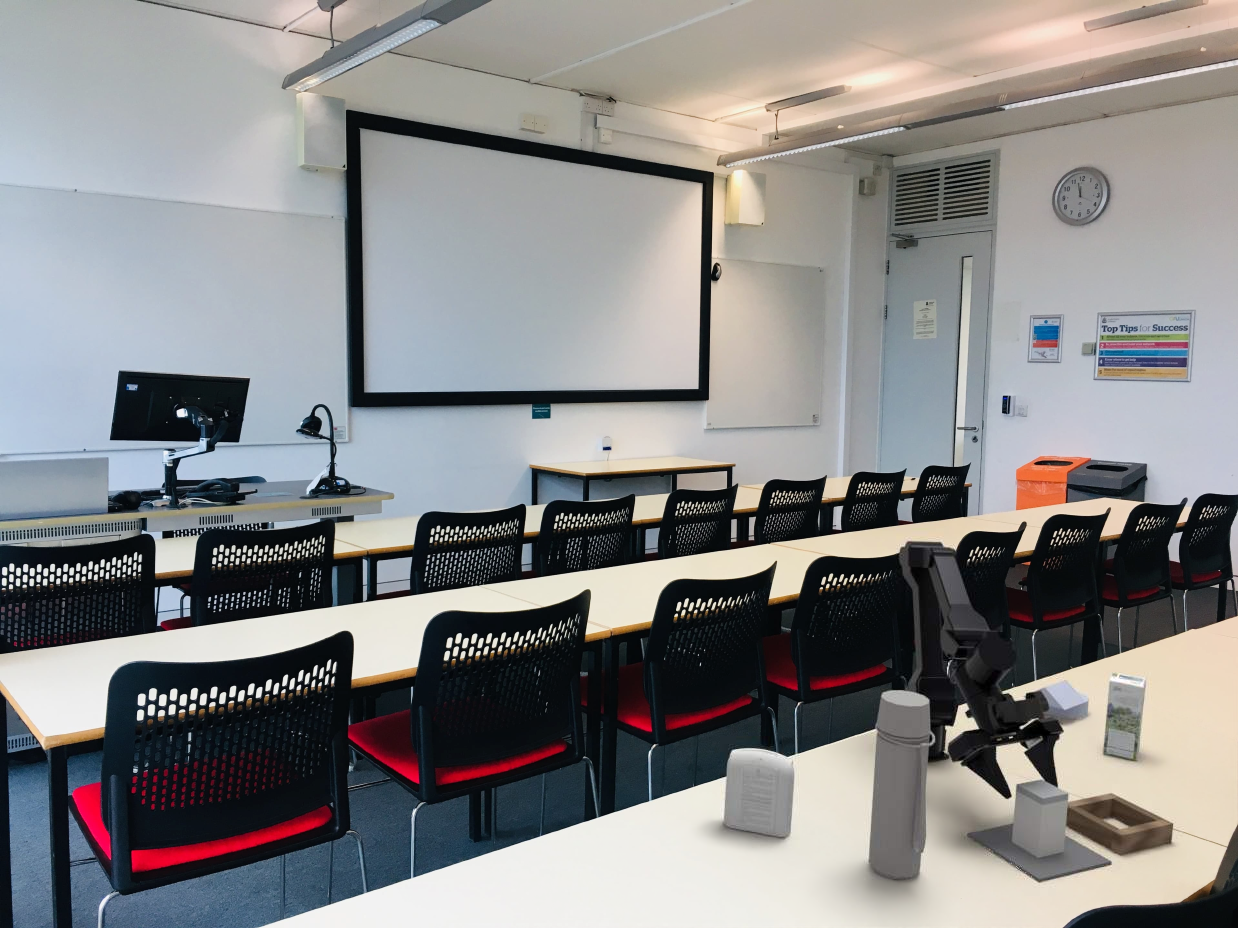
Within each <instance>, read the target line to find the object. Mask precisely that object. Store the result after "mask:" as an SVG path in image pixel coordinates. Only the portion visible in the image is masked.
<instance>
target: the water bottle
mask: <svg viewBox="0 0 1238 928" xmlns="http://www.w3.org/2000/svg"><path fill="white" fill-rule="evenodd" d="M876 719H877V720H876V723H875V730H876V732H877V733H876V738H875V739H876V741H875V755H874V767H873V768H874V770H873V772H874V773H873V785H872V786H873V787H872V788H873V789H872V801H871V816H870V817H871V820H870V821H871V822H870V835H869V851H868V863H869V864H870V866H871V867H872V869H873V870H874V872H875V873H878V874H879V875H881V876H882V877H884V878H885V877H886V878H889V879H894V880H908V879H911V878H913V877H915V876H917V875H918V874H919V873H920V870H921V864H922V862H921V861H922V854H923V853H924V852H925V847H926V840H927V807H926V806H927V799H926V798H927V794H926V793H927V792H926V791H927V789H926V787H927V778H928V764H929V762H928V750H929V746H932V745H933V743H934V742H935V735H934V734H933V733H932V732H931V731H930V704H929V699H928V698H926V697H925V696H924V695H921V694H918V693H915V692H909V691H908V690H903V689H902V690H901V689H900V690H894V689H892V690H887V691H883V692H882V693H881V696H880V702H879V709H878V714H877V718H876ZM930 734H931V736H932V738H933V739H932V742H931V743H929V736H930Z"/></svg>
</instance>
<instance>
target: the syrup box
mask: <svg viewBox="0 0 1238 928" xmlns="http://www.w3.org/2000/svg"><path fill="white" fill-rule="evenodd" d="M1146 684H1147V679H1146V678H1144V677H1139V676H1133V675H1128V674H1122V673H1118V672H1117V673H1116V672H1112V674H1111V676H1110V678H1109V684H1108V695H1107V705H1106V713H1105V714H1106V718H1105V728H1104V739H1103V747H1102V748H1103V749H1102V754H1104V755H1106V756H1111V757H1112V756H1113V757H1114V758H1115V757H1116V758H1119V759H1125V760H1130V761H1133V762H1134V761H1135V762H1136V761H1137V760H1138V757H1139V754H1140V749H1141V747H1140V746H1141V733H1142V732H1141V731H1142V724H1143V723H1142V722H1143V712H1144V702H1145V694H1146V688H1147V687H1146Z"/></svg>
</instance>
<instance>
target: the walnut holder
mask: <svg viewBox="0 0 1238 928" xmlns="http://www.w3.org/2000/svg"><path fill="white" fill-rule="evenodd" d="M1110 817H1111V818H1113V819H1116V820H1118V821H1119V822H1120V823H1123V824H1126V826H1127V825H1128V827H1124V828H1121V829H1120V828H1119V827H1117V826H1115V825H1113V824H1111V823H1109V822H1107V821H1105V820H1103V819H1105V818H1110ZM1066 827H1069V828H1070V829H1073V830H1074V831H1076V832H1078V833H1080V834H1081V835H1083V836H1084V837H1087V838H1089V839H1090V840H1092V841H1094V842H1096V843H1098V844H1100V845H1101V846H1103V847H1105V848H1107V849H1109V850H1110V851H1112V852H1114V853H1116V854H1118V855H1126V854H1129V853H1133V852H1137V851H1141V850H1145V849H1149V848H1153V847H1158V846H1161V845H1166V844H1170V843H1172V840H1173V829H1174V822H1171V821H1169V820H1167V819H1165V818H1163V817H1161V816H1160V815H1157V814H1155V813H1153V812H1151V811H1149V810H1146V809H1144V808H1143V807H1141V806H1139V805H1137V804H1135V803H1132V802H1131V801H1129V800H1127V799H1125V798H1123V797H1120V796H1118V795H1116V794H1114V793H1112V792H1110V793H1106V794H1105V793H1104V794H1101V795H1097V796H1096V795H1095V796H1090V797H1086V798H1082V799H1077V800H1071V801H1068V806H1067V818H1066Z"/></svg>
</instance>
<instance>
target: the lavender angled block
mask: <svg viewBox="0 0 1238 928" xmlns="http://www.w3.org/2000/svg"><path fill="white" fill-rule="evenodd" d="M1036 691H1042V693H1043V694H1044V696H1045V697H1046V699H1047V701H1048V704H1049V710H1048V711H1047V713H1046V714H1048V715H1050V714H1051V716H1053V715H1055V716H1054V717H1057V716H1060V717H1059V718H1062V717H1064V718H1063V719H1068V718H1081V719H1085V718H1086V716H1087V717H1088V712H1089V700H1090V699H1089V697H1088V696H1087V695H1086V694H1084V693H1081V692H1078V691H1077V690H1076V689H1075V688H1074V687H1073V685H1072V684H1070V683H1069V681H1068V680H1067V679H1065V680H1062V681H1059V682H1055V683H1053V684H1050V685H1047V686H1044V687H1042V688H1039V689H1038V690H1036ZM1022 697H1023V698H1026V694H1025V695H1024V696H1022ZM1084 717H1085V718H1084Z"/></svg>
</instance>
